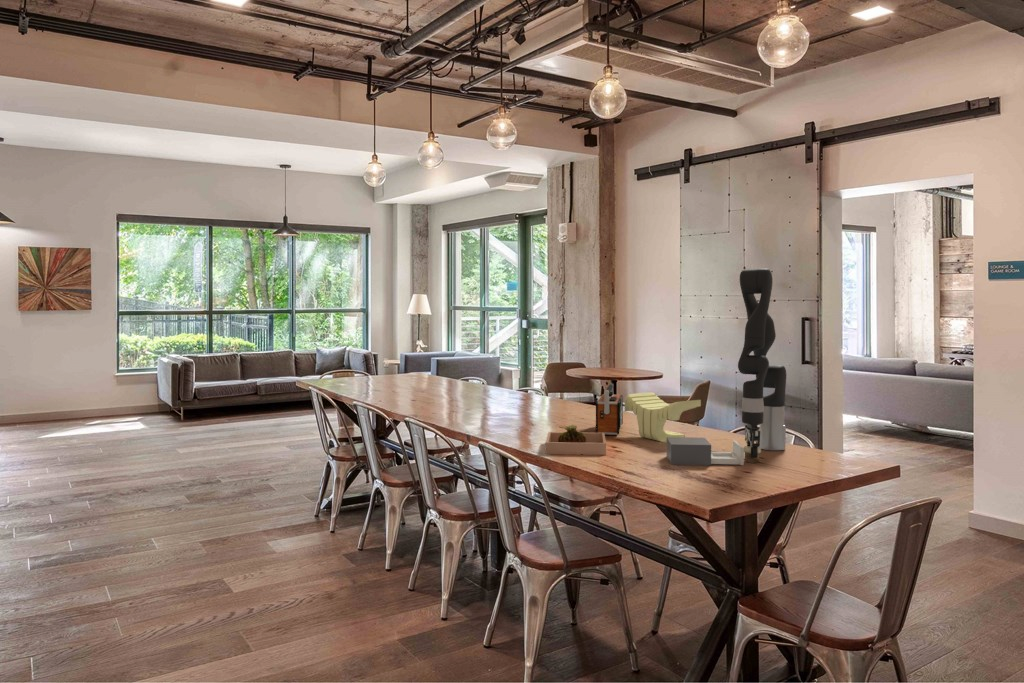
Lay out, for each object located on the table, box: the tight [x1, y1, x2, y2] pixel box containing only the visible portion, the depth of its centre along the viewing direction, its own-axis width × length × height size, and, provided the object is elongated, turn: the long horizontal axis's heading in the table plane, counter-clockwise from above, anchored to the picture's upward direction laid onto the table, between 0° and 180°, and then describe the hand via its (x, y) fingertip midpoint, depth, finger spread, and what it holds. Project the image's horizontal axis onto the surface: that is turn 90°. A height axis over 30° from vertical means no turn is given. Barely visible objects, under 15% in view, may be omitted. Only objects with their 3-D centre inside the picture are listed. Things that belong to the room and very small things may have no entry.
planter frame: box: [545, 431, 607, 456], centre depth 298 cm, size 23×23×4 cm
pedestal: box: [744, 452, 760, 464], centre depth 273 cm, size 5×5×4 cm
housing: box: [666, 436, 712, 467], centre depth 274 cm, size 14×14×7 cm
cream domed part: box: [743, 445, 762, 454], centre depth 273 cm, size 6×6×2 cm
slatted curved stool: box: [624, 391, 702, 443], centre depth 319 cm, size 30×16×18 cm, turn 30°
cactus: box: [558, 424, 586, 443], centre depth 298 cm, size 17×16×10 cm
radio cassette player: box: [595, 383, 624, 437], centre depth 338 cm, size 29×10×20 cm, turn 168°
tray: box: [711, 440, 745, 466], centre depth 273 cm, size 14×14×6 cm
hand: (752, 455), depth 273 cm, fingers closed on cream domed part, 6 cm apart
